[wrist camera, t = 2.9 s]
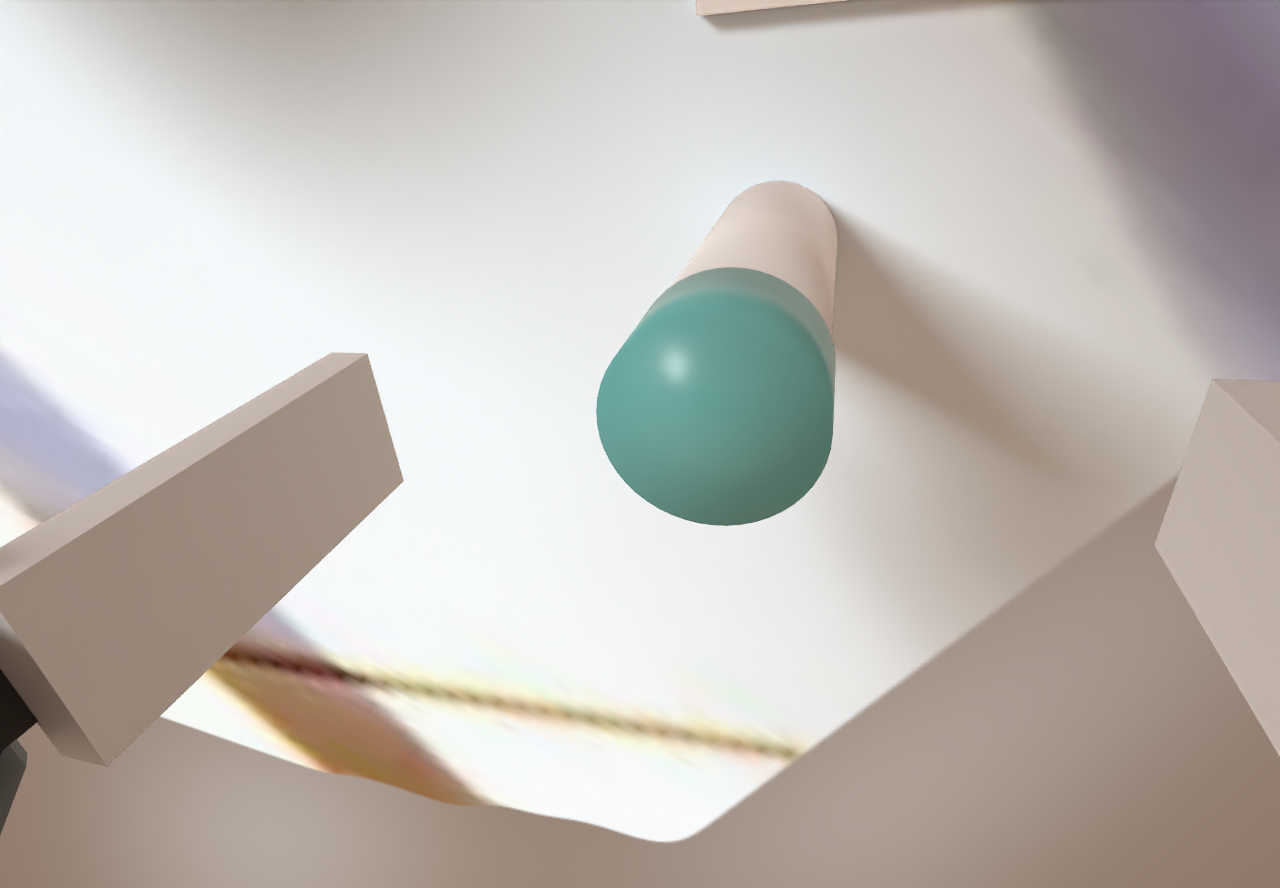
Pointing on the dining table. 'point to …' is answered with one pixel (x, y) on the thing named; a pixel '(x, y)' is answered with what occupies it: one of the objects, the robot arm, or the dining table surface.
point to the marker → (732, 367)
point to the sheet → (747, 5)
